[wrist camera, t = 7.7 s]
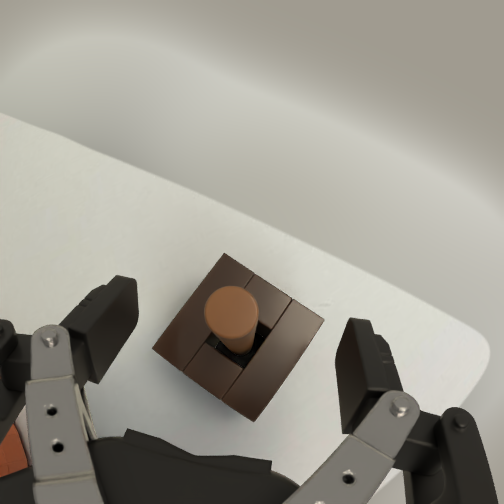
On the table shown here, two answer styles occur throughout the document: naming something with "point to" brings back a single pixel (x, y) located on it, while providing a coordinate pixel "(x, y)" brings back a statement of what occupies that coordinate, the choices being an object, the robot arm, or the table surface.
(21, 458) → the bowl
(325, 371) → the table surface
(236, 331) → the stick
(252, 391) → the holder
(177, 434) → the table surface
